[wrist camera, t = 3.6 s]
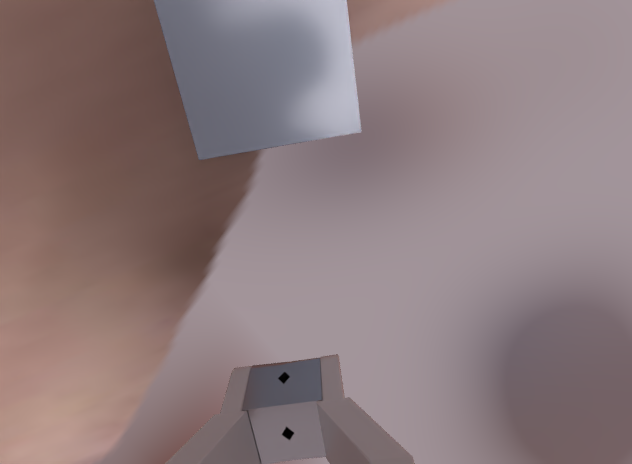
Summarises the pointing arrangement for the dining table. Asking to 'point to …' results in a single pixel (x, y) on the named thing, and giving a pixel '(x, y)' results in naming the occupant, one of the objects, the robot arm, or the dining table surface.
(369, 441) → the robot arm
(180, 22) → the slab
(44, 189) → the dining table surface
